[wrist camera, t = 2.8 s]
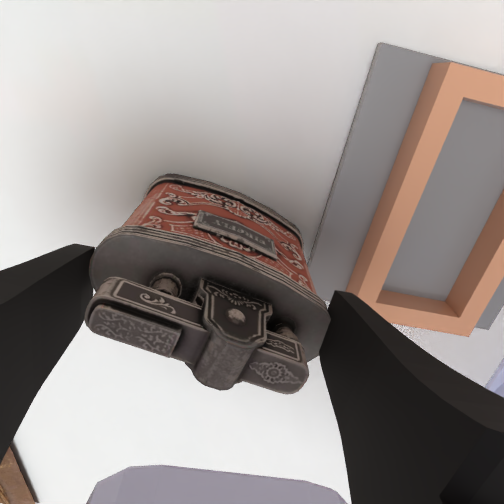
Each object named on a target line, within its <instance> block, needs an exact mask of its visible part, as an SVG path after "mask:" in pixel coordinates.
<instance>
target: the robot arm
mask: <svg viewBox="0 0 504 504" xmlns="http://www.w3.org/2000/svg"><path fill="white" fill-rule="evenodd" d="M94 251H95V247H91V246H85V245H80V244H72V245H68V246H65V247H63V248H60V249H57V250H55V251H52V252H50V253H47V254H45V255H42V256H40V257H37V258H34V259H32V260H29V261H27V262H24V263H21V264H19V265H16V266H13V267H10V268H7V269H4V270H1V271H0V464H1V462H2V460H3V458H4V456H5V454H6V452H7V450H8V448H9V446H10V444H11V442H12V440H13V438H14V436H15V434H16V432H17V430H18V428H19V426H20V424H21V422H22V420H23V418H24V417H25V415H26V413H27V411H28V409H29V407H30V405H31V403H32V401H33V399H34V398H35V396H36V394H37V393H38V391H39V389H40V388H41V386H42V384H43V383H44V381H45V380H46V378H47V377H48V375H49V374H50V372H51V371H52V369H53V368H54V367H55V365H56V364H57V362H58V361H59V359H60V358H61V356H62V355H63V353H64V352H65V350H66V349H67V347H68V346H69V344H70V343H71V341H72V340H73V338H74V337H75V335H76V333H77V332H78V330H79V329H80V327H81V325H82V323H83V321H84V319H85V312H86V309H87V306H88V304H89V302H90V301H91V299H92V298H93V286H92V284H91V280H90V276H89V265H90V259H91V257H92V255H93V253H94ZM328 312H329V315H330V318H331V321H330V323H329V326H328V329H327V331H326V334H325V337H324V339H323V342H322V345H321V347H320V350H319V356H320V362H321V367H322V370H323V374H324V378H325V381H326V385H327V388H328V392H329V395H330V399H331V402H332V405H333V409H334V412H335V416H336V419H337V423H338V427H339V431H340V435H341V440H342V445H343V451H344V457H345V462H346V468H347V475H348V482H349V488H350V495H351V502H352V504H504V359H503V360H502V362H501V363H500V365H499V366H498V368H497V370H496V371H495V373H494V374H493V376H492V377H491V379H490V380H489V382H488V383H487V385H486V386H485V388H484V387H483V386H481V385H479V384H477V383H475V382H474V381H472V380H470V379H468V378H467V377H465V376H463V375H461V374H460V373H458V372H456V371H455V370H453V369H451V368H450V367H448V366H447V365H445V364H444V363H442V362H441V361H439V360H438V359H436V358H435V357H433V356H432V355H430V354H429V353H427V352H426V351H425V350H423V349H422V348H420V347H419V346H418V345H416V344H415V343H414V342H413V341H411V340H410V339H409V338H407V337H406V336H405V335H403V334H402V333H401V332H400V331H398V330H397V329H396V328H395V327H394V326H392V325H391V324H390V323H389V322H388V321H386V320H385V319H384V318H383V317H382V316H380V315H379V314H378V313H377V312H376V311H375V310H373V309H372V308H371V307H370V306H369V305H367V304H366V303H365V302H364V301H363V300H361V299H360V298H359V297H357V296H356V295H354V294H353V293H350V292H344V291H338V290H335V291H334V294H333V296H332V299H331V302H330V305H329V307H328ZM86 504H347V503H346V501H345V500H344V499H343V498H342V497H341V496H340V495H339V494H338V493H337V492H336V491H334V490H332V489H330V488H327V487H324V486H321V485H318V484H314V483H311V482H308V481H303V480H294V479H285V478H276V477H267V476H258V475H249V474H240V473H231V472H222V471H213V470H204V469H195V468H186V467H177V466H168V465H150V466H133V467H128V468H126V469H124V470H122V471H120V472H118V473H116V474H114V475H112V476H109V477H107V478H105V479H103V480H101V481H99V482H97V484H96V486H95V488H94V490H93V492H92V494H91V495H90V497H89V499H88V501H87V503H86Z"/></svg>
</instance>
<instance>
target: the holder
mask: <svg viewBox="0 0 504 504" xmlns="http://www.w3.org/2000/svg"><path fill="white" fill-rule="evenodd" d="M307 267H308V270H309V273H310V276H311V279H312V282H313V285H314V288H315V291H316V294H317V295H318V296H319V297H320V298H321V299H322V300H326V301H331V299H332V296H333V294H334V291H335V290H338V291H344V292H350V293H353V294H354V295H356V296H357V297H359V298H360V299H361V300H363V301H364V302H365V303H366V304H367V305H369V306H370V307H371V308H372V309H373V310H375V311H376V312H377V313H378V314H379V315H380V316H382V317H383V318H384V319H385V320H386V321H388V322H389V323H394V324H399V325H405V326H410V327H416V328H422V329H427V330H433V331H439V332H444V333H450V334H456V335H461V336H467V337H469V335H470V334H471V332H472V330H473V329H474V327H476V328H481V329H487V330H489V328H490V326H491V325H492V323H493V321H494V320H495V318H496V316H497V315H498V313H499V312H500V310H501V308H502V307H503V305H504V75H503V74H499V73H495V72H491V71H487V70H484V69H480V68H476V67H472V66H469V65H465V64H461V63H457V62H453V61H450V60H446V59H442V58H438V57H435V56H431V55H427V54H423V53H420V52H416V51H412V50H408V49H404V48H401V47H397V46H393V45H389V44H386V43H379V44H378V46H377V49H376V52H375V55H374V59H373V62H372V65H371V68H370V71H369V74H368V77H367V80H366V84H365V87H364V90H363V93H362V96H361V99H360V102H359V106H358V109H357V112H356V115H355V118H354V121H353V124H352V127H351V131H350V134H349V137H348V140H347V143H346V146H345V149H344V152H343V156H342V159H341V162H340V165H339V168H338V171H337V174H336V178H335V181H334V184H333V187H332V190H331V193H330V196H329V199H328V203H327V206H326V209H325V212H324V215H323V218H322V221H321V225H320V228H319V231H318V234H317V237H316V240H315V243H314V246H313V250H312V253H311V256H310V259H309V262H308V265H307Z"/></svg>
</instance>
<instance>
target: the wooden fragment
mask: <svg viewBox="0 0 504 504" xmlns="http://www.w3.org/2000/svg"><path fill="white" fill-rule="evenodd" d="M0 503H2V504H35V502H34V500H33V497H32V495H31V493H30V491H29V489H28V487H27V485H26V483H25V480H24V478H23V475H22V473H21V472H20V469H19V466H18V464H17V462H16V459H15V457H14V454H13V452H12V450H11V448H10V447H9V448H8V450H7V452H6V454H5V456H4V458H3V460H2V462H1V464H0Z"/></svg>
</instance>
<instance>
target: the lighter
mask: <svg viewBox="0 0 504 504" xmlns="http://www.w3.org/2000/svg"><path fill="white" fill-rule="evenodd" d="M303 246H304V243H303V240H302V237H301V235H300V232H299V230H298V229H297V228H296V226H295V225H293V224H292V223H291V222H289V221H288V220H286V219H285V218H283V217H282V216H280V215H279V214H277V213H276V212H274V211H273V210H272V209H270V208H268V207H266V206H264V205H263V204H261V203H259V202H257V201H255V200H253V199H251V198H249V197H247V196H245V195H243V194H241V193H239V192H236V191H233V190H231V189H228V188H225V187H222V186H219V185H217V184H214V183H211V182H208V181H204V180H199V179H195V178H191V177H186V176H182V175H178V174H166V175H163V176H160V177H159V178H157V179H156V180H155V181H154V182H153V183H152V184H151V185H150V186H149V188H148V190H147V191H146V193H145V195H144V200H143V201H142V203H141V204H140V205H139V206H138V208H137V209H136V210H135V211H134V212H133V214H132V215H131V216H130V217H129V219H128V220H127V221H126V222H125V223H124V225H123V226H122V227H120V228H117V229H115V230H114V231H112V232H111V233H110V234H109V235H108V236H107V237H105V238H104V240H103V241H102V242H101V243H100V244H99V245H98V247H97V248H96V249H95V251H94V253H93V255H92V257H91V259H90V265H89V276H90V280H91V284H92V286H93V288H94V289H95V291H96V293H95V295H94V296H93V298H92V299H91V301H90V302H89V304H88V306H87V309H86V312H85V319H84V320H85V323H86V326H87V327H89V329H90V330H91V331H92V332H94V333H96V334H98V335H101V336H104V337H107V338H110V339H113V340H116V341H119V342H122V343H125V344H129V345H132V346H135V347H138V348H141V349H144V350H147V351H150V352H153V353H156V354H159V355H162V356H165V357H168V358H170V357H171V358H174V359H177V360H180V361H184V362H185V364H186V365H187V366H188V367H189V368H190V369H191V370H192V373H193V375H194V377H195V378H196V379H197V380H198V381H199V382H201V383H202V384H203V385H205V386H208V387H211V388H214V389H217V390H228V389H230V388H232V387H233V386H234V384H236V383H240V382H242V381H245V382H248V383H251V384H254V385H257V386H260V387H263V388H266V389H269V390H272V391H275V392H278V393H283V394H293V393H295V392H297V391H299V390H300V389H301V388H302V387H303V385H304V384H305V382H306V381H307V379H308V376H309V370H308V365H307V362H309V361H311V360H312V359H314V358H315V357H317V356H319V350H320V347H321V345H322V342H323V339H324V337H325V334H326V331H327V329H328V326H329V323H330V321H331V318H330V315H329V312H328V310H327V307H326V304H325V302H324V301H323V300H322V299H321V298H320V297H319V296H318V295H317V294H316V291H315V288H314V285H313V282H312V279H311V276H310V273H309V270H308V267H307V264H306V261H305V258H304V255H303Z"/></svg>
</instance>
